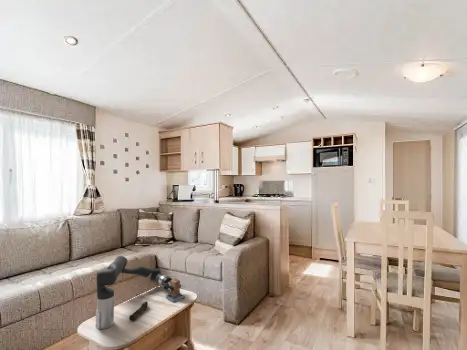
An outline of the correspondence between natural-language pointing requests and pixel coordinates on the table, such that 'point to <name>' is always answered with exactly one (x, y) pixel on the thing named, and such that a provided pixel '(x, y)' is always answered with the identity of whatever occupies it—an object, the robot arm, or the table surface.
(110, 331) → the table surface
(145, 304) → the brown rough rod
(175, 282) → the walnut block
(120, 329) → the table surface
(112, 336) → the table surface
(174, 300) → the tray
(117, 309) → the table surface
